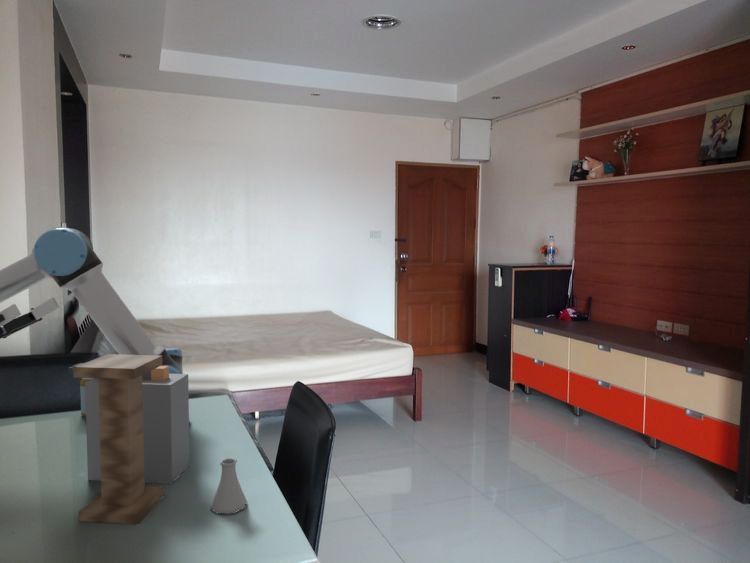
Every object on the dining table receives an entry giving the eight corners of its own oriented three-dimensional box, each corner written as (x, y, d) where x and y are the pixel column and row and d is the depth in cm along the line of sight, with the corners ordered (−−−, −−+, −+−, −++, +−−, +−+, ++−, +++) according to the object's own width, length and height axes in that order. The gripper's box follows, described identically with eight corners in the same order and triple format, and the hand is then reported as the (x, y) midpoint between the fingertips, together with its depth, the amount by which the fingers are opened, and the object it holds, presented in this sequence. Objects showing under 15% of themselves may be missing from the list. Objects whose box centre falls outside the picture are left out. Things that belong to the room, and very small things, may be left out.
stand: (78, 521, 110) (74, 367, 108) (111, 493, 122) (108, 354, 120) (137, 523, 109) (134, 368, 107) (164, 495, 121) (162, 355, 119)
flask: (253, 502, 119) (253, 457, 118) (233, 518, 112) (233, 470, 111) (224, 496, 121) (224, 452, 120) (203, 512, 114) (203, 465, 114)
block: (87, 480, 129) (85, 382, 127) (111, 462, 138) (108, 371, 137) (172, 483, 127) (170, 384, 125) (189, 465, 137) (188, 374, 135)
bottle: (95, 418, 171) (94, 370, 170) (76, 416, 173) (74, 369, 172) (110, 411, 178) (109, 365, 177) (91, 410, 180) (90, 364, 178)
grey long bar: (66, 377, 131) (66, 365, 131) (73, 374, 134) (73, 362, 133) (163, 380, 129) (163, 368, 129) (169, 377, 132) (168, 365, 132)
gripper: (10, 351, 146) (77, 312, 144) (-72, 374, 121) (7, 328, 119) (-4, 326, 146) (62, 287, 144) (-90, 344, 121) (-11, 297, 119)
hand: (37, 305), depth 131 cm, fingers open, 13 cm apart
